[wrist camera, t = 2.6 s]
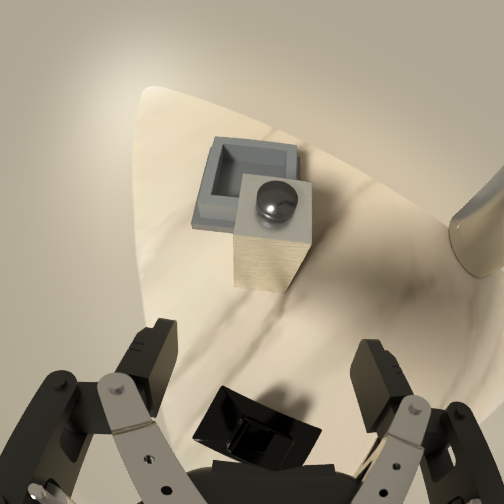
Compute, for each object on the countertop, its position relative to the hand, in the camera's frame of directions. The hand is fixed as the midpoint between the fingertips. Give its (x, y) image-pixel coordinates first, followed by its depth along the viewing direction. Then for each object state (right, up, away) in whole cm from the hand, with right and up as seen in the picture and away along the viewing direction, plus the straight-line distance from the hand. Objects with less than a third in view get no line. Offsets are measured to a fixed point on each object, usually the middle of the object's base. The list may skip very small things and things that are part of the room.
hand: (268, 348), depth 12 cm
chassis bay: (-1, +10, +18) cm, 21 cm away
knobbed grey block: (0, +3, +15) cm, 15 cm away
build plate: (0, -11, +9) cm, 15 cm away
